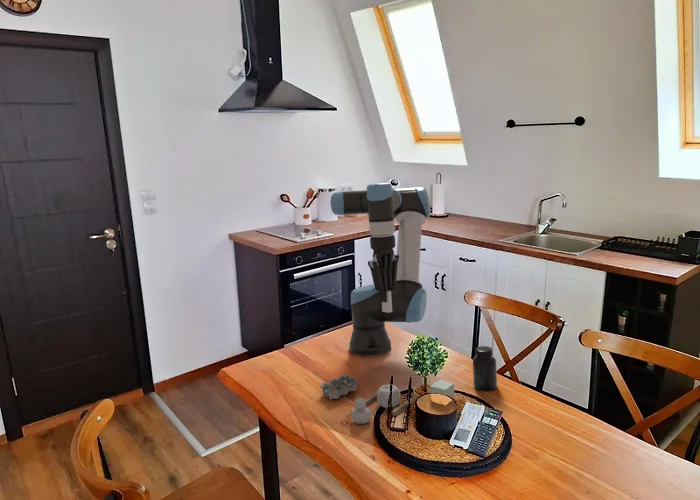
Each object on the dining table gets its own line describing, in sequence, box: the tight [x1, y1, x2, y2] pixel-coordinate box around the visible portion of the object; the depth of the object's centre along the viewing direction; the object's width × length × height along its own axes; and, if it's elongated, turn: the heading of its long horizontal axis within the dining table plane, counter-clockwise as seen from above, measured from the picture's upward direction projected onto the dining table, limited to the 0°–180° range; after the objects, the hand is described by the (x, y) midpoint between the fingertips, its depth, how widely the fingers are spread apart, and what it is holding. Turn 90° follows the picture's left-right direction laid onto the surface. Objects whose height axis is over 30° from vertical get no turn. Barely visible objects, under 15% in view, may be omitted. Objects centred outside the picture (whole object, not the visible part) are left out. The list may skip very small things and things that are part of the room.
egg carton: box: [319, 373, 359, 400], centre depth 153 cm, size 11×8×4 cm
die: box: [376, 384, 401, 409], centre depth 144 cm, size 5×5×5 cm
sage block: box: [429, 379, 456, 401], centre depth 144 cm, size 5×5×5 cm
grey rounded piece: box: [350, 394, 372, 425], centre depth 135 cm, size 5×7×8 cm
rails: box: [364, 392, 416, 417], centre depth 144 cm, size 10×12×1 cm
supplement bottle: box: [472, 345, 498, 392], centre depth 150 cm, size 7×7×12 cm
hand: (387, 311), depth 152 cm, fingers closed
